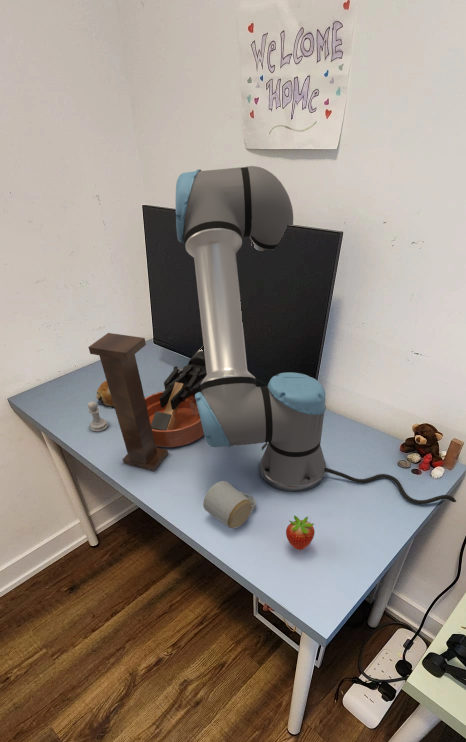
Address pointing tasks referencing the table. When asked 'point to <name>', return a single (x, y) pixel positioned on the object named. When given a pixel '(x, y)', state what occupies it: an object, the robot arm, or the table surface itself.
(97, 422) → the chess piece
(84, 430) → the table surface
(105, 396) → the bread roll
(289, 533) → the fruit
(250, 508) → the ceramic mug
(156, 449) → the stand
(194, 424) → the bowl
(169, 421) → the hairbrush
